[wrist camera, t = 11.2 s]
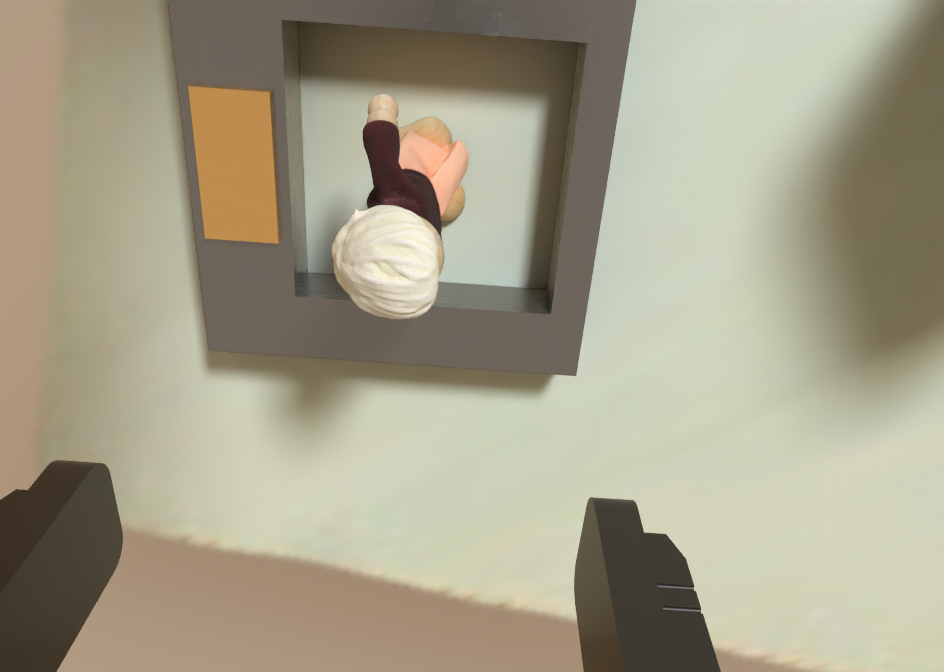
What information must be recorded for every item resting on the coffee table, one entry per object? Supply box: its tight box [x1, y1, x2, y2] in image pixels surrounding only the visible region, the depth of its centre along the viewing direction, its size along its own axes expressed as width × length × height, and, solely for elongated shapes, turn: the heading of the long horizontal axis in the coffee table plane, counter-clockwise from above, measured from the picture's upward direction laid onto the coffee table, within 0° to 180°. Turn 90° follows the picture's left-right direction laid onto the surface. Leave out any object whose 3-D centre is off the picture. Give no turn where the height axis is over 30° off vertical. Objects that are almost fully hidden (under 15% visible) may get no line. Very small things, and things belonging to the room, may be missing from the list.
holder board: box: [168, 0, 636, 376], centre depth 30 cm, size 17×16×3 cm
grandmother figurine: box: [331, 94, 469, 319], centre depth 26 cm, size 8×4×13 cm, turn 21°
